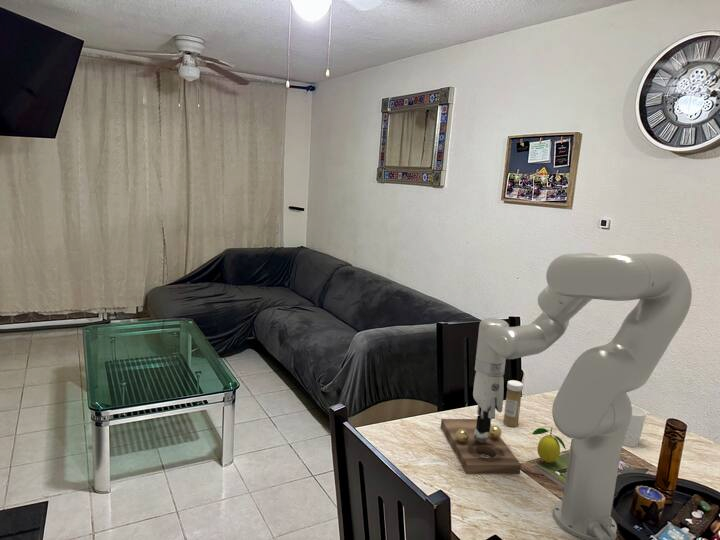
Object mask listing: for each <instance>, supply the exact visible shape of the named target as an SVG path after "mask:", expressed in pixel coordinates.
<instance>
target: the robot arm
mask: <svg viewBox="0 0 720 540" xmlns="http://www.w3.org/2000/svg"><path fill="white" fill-rule="evenodd" d="M545 276H546V277H545V278H546V279H545V280H546V283H547V285H546V287H545V288H543V290H541V292H540V293H539V294H538V297H537V305H538V307H539V308H540V309H539V310H541V314H539V316H537V318H535V319H534V320H533V321H532V322H531V323H529V324H524V325H517V326H510V324H509V323H508V322H507V321H506V320H503V319H501V318H496V317H495V318H494V317H485V318H483V319H481V321H480V322H479V326H478V336H477V343H476V354H475V365H474V371H475V375H474V380H473V381H474V382H473V391H472V396H473V399H474V401H475V402H476V404H477V417H476V419H477V425H476V429H477V430H478V432H490V424H491V425H492V423H491V422H492V419H493V420H494V419H495V418H496V411H497V413H502V412H503V408H504V407H503V406H504V395H505V394H504V390H505V388H504V387H505V386H504V384H505V383H504V380H505V379H504V375H505V369H506V360H515V359H519V358H523V357H530V356H533V355H539V354H541V353H543V352H545V351H546V350H547V349H549V348H550V347H551V346H553V345H554V344H555V343H556V342H557V341H559V339H561V338H562V336H564V335H565V333H566V330H567V328H568V326H569V324H570V323H569V322H570V320H571V319H572V318H574V316H576V315H577V314H578V313H579V311H581V310H582V309H583V308H584V307H586V305H588V304H589V303H590V302H591V301H592V300H601V301H613V302H614V301H617V302H623V301H624V302H626V301H627V302H628V301H635V300H638V303H637V304H636V305H635V306H634V307H633V308H632V310H631V311H630V312H629V313H628V314H627V316H626V317H625V318H624V320H623V322H622V324H621V326H620V328H618V331H617V332H616V334H615V335H614V337H613V338H612V339H611V341H610V342H608V343H606V344H602V345H598V346H594V347H592V348H589V349H586V350H585V351H584V352H582V353H581V354H580V355H579V356H578V357H577V358H576V359H575V360H574V362H573V363H572V366H571V367H570V370H569V371H568V373H567V375H566V377H565V378H564V379H563V380H564V381H563V382H562V384H561V386H560V387H559V390H558V392H557V394H556V396H555V398H554V400H553V403H552V408H551V415H552V420H553V422H554V424H555V426H556V428H557V430H558V431H559V432H560V433H561V434H562V435H563V436H565V437H567V438H569V439H571V440H570V446H569V452H568V459H567V464H566V465H567V466H566V472H565V474H566V475H565V480H564V487H563V494H562V499H561V500H559V501H557V502H556V503H555V504H554V506H553V508H552V509H553V510H552V514H553V518H554V520H555V521H556V522H557V524H558V525H559V526H560V527H561V528H562V529H564V530H565V531H566V532H568V533H570V534H571V535H573V536H574V537H577V538H580V539H581V540H582V539H583V540H616V539H617V537H618V535H617V529H618V527H617V522H616V521H615V519H614V518H613V517H612V516H611V515H612V508H613V503H614V496H615V490H616V483H617V479H618V473H619V468H620V467H619V465H620V461H621V454H622V450H623V446H624V445H623V442H624V438H625V435H626V433H627V430H628V427H629V424H630V421H631V416H632V405H633V404H632V402H631V399H630V396H629V395H628V394H627V393H630V392H632V391H635V390H638V389H639V388H642V387H643V386H644V385H645V384H646V383H647V381H649V378H650V377H651V376H652V374H653V371H654V370H655V368H656V367H657V365H658V364H659V363H660V361H661V358H662V357H663V356H664V354H665V353H666V351H667V349H668V347H669V345H670V343H671V342H672V340H673V339H674V337H675V336H676V334H677V333H678V331H679V329H680V328H681V326H682V325H683V322H684V321H685V319H686V317H687V316H688V313H689V312H690V308H691V304H692V299H693V298H692V297H693V295H692V285H691V282H690V278H689V276H688V274H687V273H686V271H685V270H684V268H683V267H682V266H681V265H680V264H679V263H678V262H677V261H675V260H674V259H673V258H671V257H669V256H667V255H663V254H660V253H659V254H658V253H652V252H651V253H648V252H647V253H630V254H629V253H628V254H627V253H626V254H597V253H591V252H587V253H586V252H584V253H582V252H581V253H567V254H561V255H559V256H557V257H555V259H553V260H552V261H551V262H550V264H549V265H548V267H547V270H546V274H545Z"/></svg>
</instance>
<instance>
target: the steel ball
mask: <svg viewBox="0 0 720 540" xmlns="http://www.w3.org/2000/svg"><path fill="white" fill-rule="evenodd" d="M473 436H474V439H475V440H476V441H477V442H479V443H484V442H486V441H487V440H488V437H489V435H488V432H478V430H477V429H476V430H475V431H474V434H473Z"/></svg>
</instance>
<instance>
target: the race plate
mask: <svg viewBox="0 0 720 540" xmlns="http://www.w3.org/2000/svg"><path fill="white" fill-rule="evenodd" d="M476 425H477V418H441V422H440V428H441V429H442V431H443V434H444V435H445V437H446V439H447V441H448V443H449V445H450V446H451V448H452V450H453V452H454V454H455V456H456V458H457V459H458V462H459V463H460V465H461V467H462V469H463V471H464V472H465V474H466V475H504V474H505V475H512V474H513V475H520V474H521V470H522V468H521V467H522V464H521V463H520V461H519V460H518V459H517V457H516V456H515V454H514V453H513V452H512V450H511V449H510V448H509V446H508V445H507V444H506V442H505V441H504V440H503V438H502V437H501V436H500V437H499V438H498V439H493V438H491V437H490V435H489V433H488V435H489V437H488V440H487V441H486V442H484V443H479V442H477V441H476V440H475V439H474V436H473V434H474V431H475V430H476ZM491 426H493V425H492V423H491V424H490V427H491ZM459 429H464V430H466V431H467V432H468V434H469V438H468V440H467V441H466V442H464V443H461V442H459V441H458V440H457V439H456V432H457V431H458V430H459ZM486 456H487V457H486Z"/></svg>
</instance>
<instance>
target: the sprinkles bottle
mask: <svg viewBox="0 0 720 540" xmlns="http://www.w3.org/2000/svg"><path fill="white" fill-rule="evenodd" d="M506 389H507V390H506V397H505V403H504V416H503V421H502V423H503V424H504V425H505V426H506V427H510V428H516V427H519V418H520V413H521V412H520V411H521V400H522V393H523V389H524V384H523V382H521V381H518V380H514V379H511V380H508V381H507V384H506Z"/></svg>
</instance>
